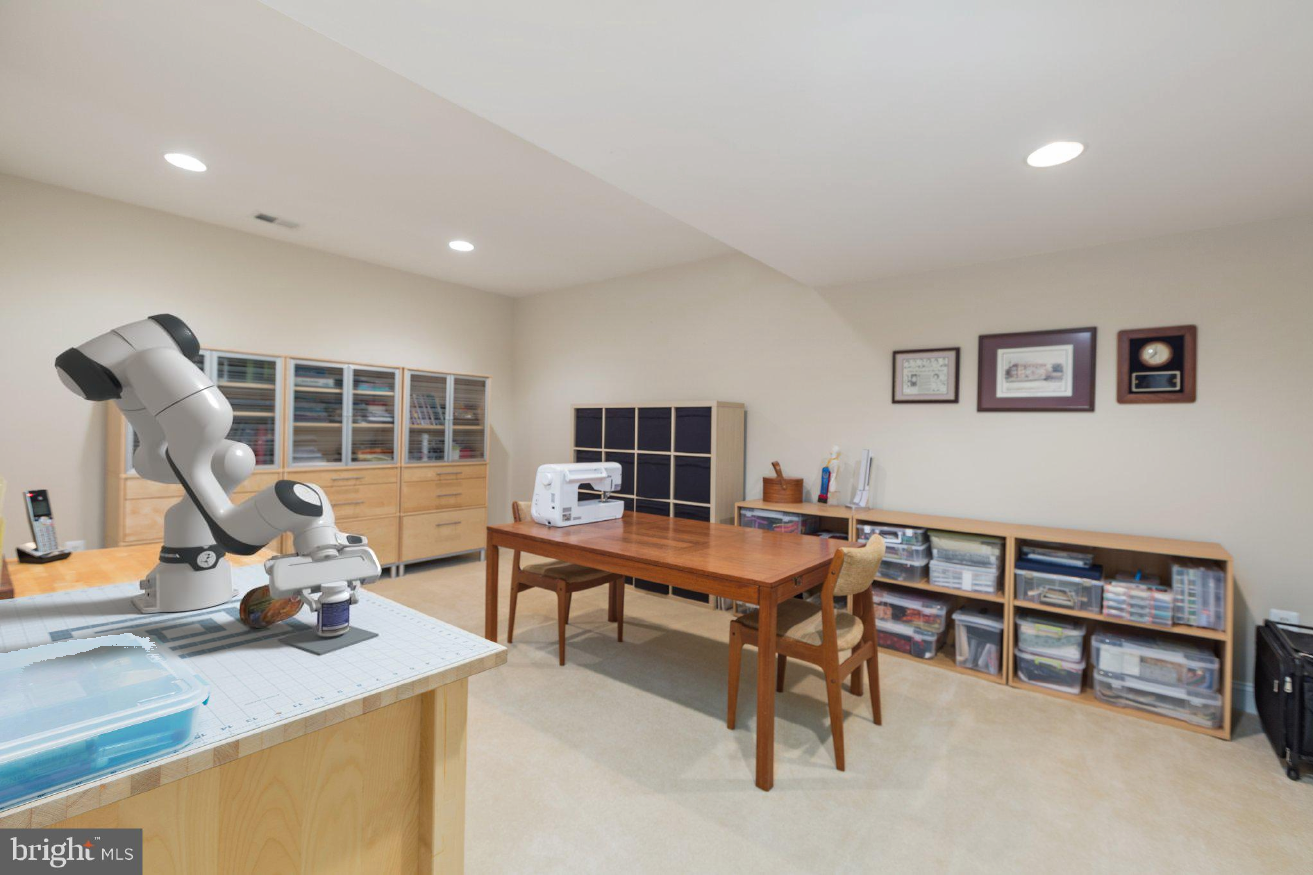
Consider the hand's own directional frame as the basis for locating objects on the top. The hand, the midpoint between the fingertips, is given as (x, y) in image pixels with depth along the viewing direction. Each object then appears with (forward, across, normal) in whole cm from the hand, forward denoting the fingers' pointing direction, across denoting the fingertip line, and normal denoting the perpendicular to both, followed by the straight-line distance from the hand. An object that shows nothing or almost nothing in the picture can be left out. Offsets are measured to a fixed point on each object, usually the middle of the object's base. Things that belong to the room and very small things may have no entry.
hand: (336, 606), depth 115 cm
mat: (+4, -1, +5) cm, 6 cm away
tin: (-10, -6, +19) cm, 22 cm away
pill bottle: (+3, 0, +5) cm, 6 cm away
